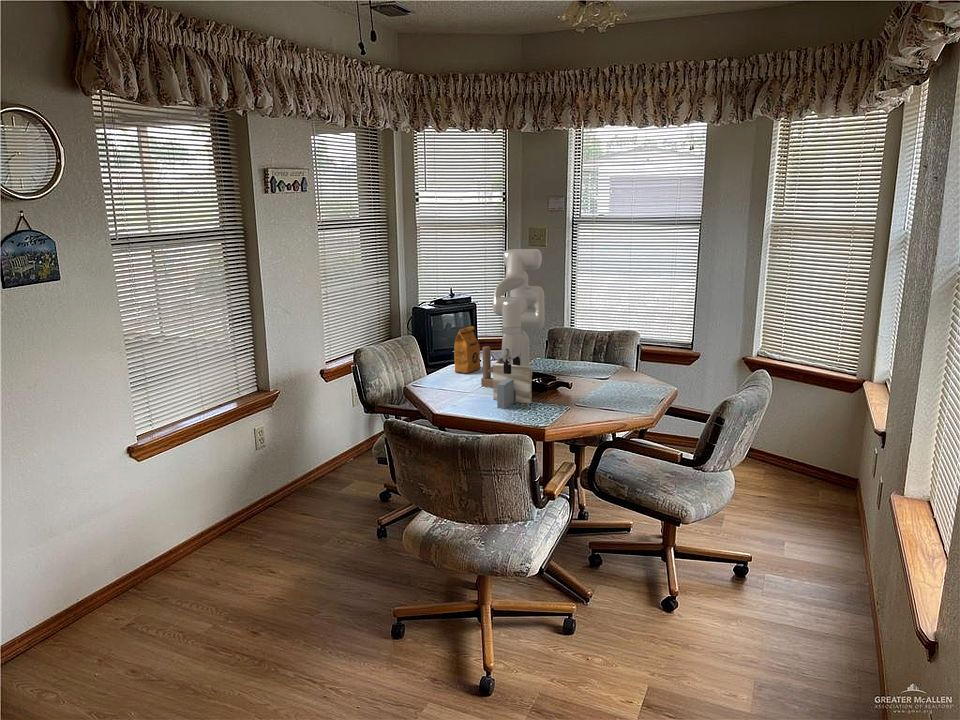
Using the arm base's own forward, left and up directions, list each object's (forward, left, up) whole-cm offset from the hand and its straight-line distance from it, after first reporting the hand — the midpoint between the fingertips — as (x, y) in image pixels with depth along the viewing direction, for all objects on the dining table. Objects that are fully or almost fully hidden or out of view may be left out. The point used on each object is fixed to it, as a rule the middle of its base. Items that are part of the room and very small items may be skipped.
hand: (512, 370), depth 279 cm
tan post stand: (-16, -16, -13) cm, 26 cm away
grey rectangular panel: (0, 0, -13) cm, 13 cm away
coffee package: (-37, -39, -13) cm, 55 cm away
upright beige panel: (0, 0, -13) cm, 13 cm away
